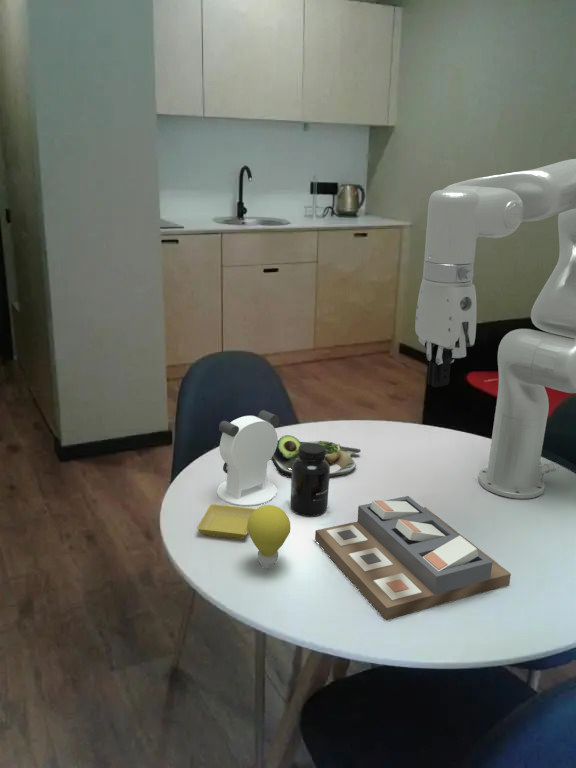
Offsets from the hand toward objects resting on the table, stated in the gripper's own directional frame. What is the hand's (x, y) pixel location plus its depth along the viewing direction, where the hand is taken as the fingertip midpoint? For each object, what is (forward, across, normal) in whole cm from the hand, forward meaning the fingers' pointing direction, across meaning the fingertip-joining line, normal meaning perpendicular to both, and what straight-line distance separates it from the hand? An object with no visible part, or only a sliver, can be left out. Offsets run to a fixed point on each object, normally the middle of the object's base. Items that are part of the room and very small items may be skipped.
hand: (438, 384), depth 110 cm
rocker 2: (+21, -9, +8) cm, 24 cm away
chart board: (+26, -9, +10) cm, 29 cm away
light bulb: (+26, 0, +31) cm, 40 cm away
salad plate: (+27, +31, +7) cm, 41 cm away
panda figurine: (+26, +23, +24) cm, 42 cm away
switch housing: (+24, -9, +8) cm, 27 cm away
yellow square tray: (+26, +12, +32) cm, 43 cm away
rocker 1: (+21, -1, +8) cm, 22 cm away
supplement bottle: (+26, +13, +16) cm, 33 cm away
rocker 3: (+21, -16, +8) cm, 27 cm away
